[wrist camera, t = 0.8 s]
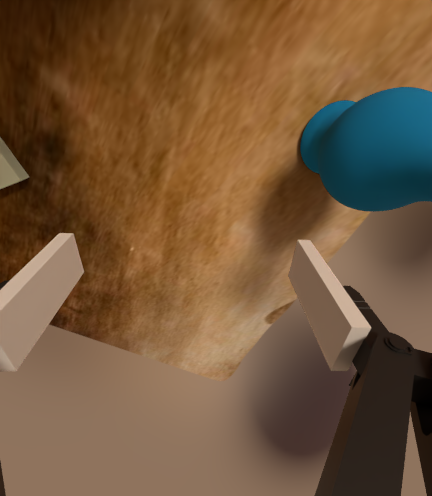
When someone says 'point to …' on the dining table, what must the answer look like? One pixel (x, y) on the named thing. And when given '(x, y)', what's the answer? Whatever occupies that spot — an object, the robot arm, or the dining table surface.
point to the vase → (373, 149)
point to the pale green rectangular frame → (9, 167)
